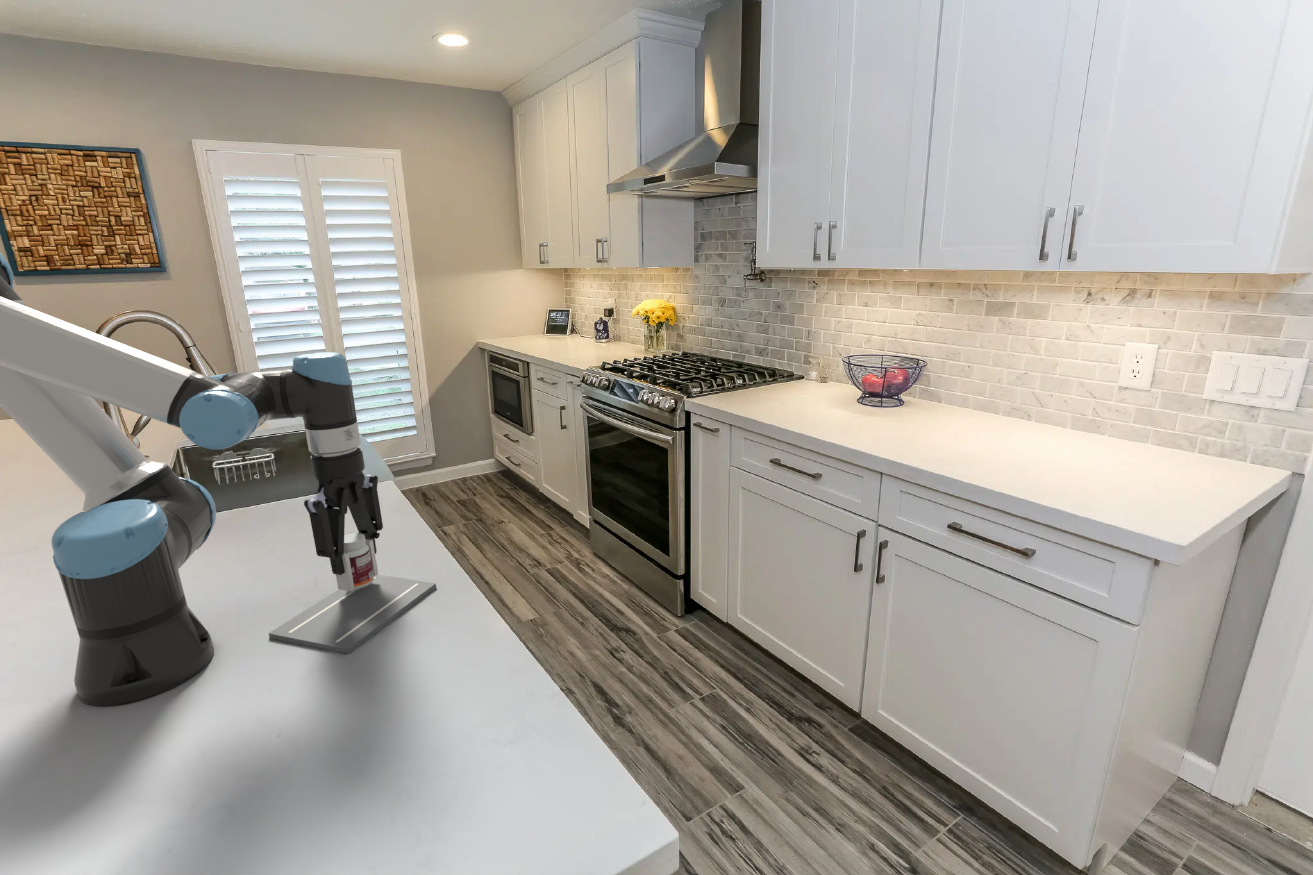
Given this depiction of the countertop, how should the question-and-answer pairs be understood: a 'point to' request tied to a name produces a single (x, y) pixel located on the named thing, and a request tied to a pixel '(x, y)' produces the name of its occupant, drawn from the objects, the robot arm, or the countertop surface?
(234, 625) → the countertop surface
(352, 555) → the pill bottle
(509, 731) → the countertop surface
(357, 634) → the slate
